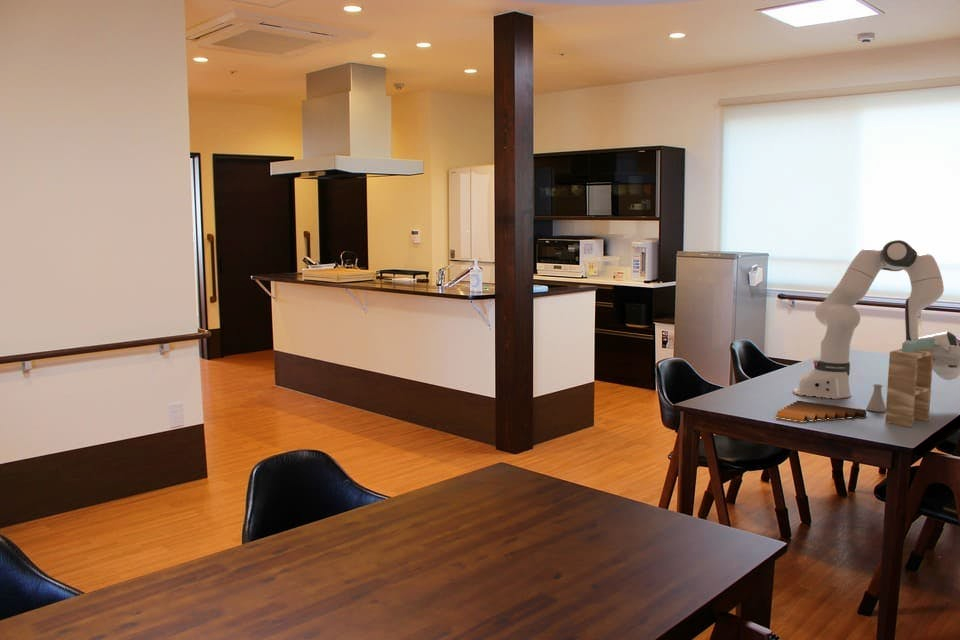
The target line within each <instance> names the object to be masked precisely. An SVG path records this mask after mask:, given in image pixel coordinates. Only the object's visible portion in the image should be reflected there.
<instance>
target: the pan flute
mask: <svg viewBox="0 0 960 640" xmlns="http://www.w3.org/2000/svg"><path fill="white" fill-rule="evenodd" d="M867 413H868V412H867V410H866V409H861V408H856V407H846V406H839V405H832V404H824V403H819V402H811V401H803V400H796V401H793V403H790V405H787V406H784V408H781V409H780V410H777V412H776V414H775V416H776V417H779V418H785V419H791V420H797V421H803V422H804V421H806V420H813V421H815V420H817V419H821V420H825V419H827V418H829V419H836V418H844V419H845V418H846V417H852V418H855V417H856V416H859V417H858V418H860V417H865V418H866V417H867ZM776 417H775V418H776ZM852 418H851V419H852ZM856 418H857V417H856ZM856 418H855V419H856ZM846 419H847V418H846ZM846 419H845V420H846ZM827 420H828V419H827ZM836 420H837V419H836ZM817 421H818V420H817Z"/></svg>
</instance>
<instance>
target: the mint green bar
mask: <svg viewBox="0 0 960 640" xmlns="http://www.w3.org/2000/svg"><path fill="white" fill-rule="evenodd" d="M934 341H935V339H933V338H922V339H918V340H913V341H909V342H905V341H904V342H905V343H904V342H902V347H901V349H902V352H907V353H913V352H917V351H921V350H925V349H929V348H933V347H934Z"/></svg>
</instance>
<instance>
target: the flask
mask: <svg viewBox="0 0 960 640" xmlns="http://www.w3.org/2000/svg"><path fill="white" fill-rule="evenodd" d="M882 387H883V384H878V383H874V384H873V392H872V395H871V398H870V400H869V402H868V403H867V406H866V408H865V410H866V411H870V412H876V413H884V412H885V413H886V405H885V404H886V403H885V402H884V398H883V395H882V393H883V392H882Z"/></svg>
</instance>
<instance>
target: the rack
mask: <svg viewBox="0 0 960 640" xmlns="http://www.w3.org/2000/svg"><path fill="white" fill-rule="evenodd" d="M933 353H934V350H926V349H925V350H921V351H917V352H913V353H907V352H902V348H900V349H895V350H891V351H889V358H888V360H889V363H888V376H887V387H886V388H887V389H886V403H885V404H886V405H885V407H886V411H885V419H884V420H885V421H884V422H885V423H886V422H889V423H888V424H891V423H894V424H893V425H897V424H898V425H899V426H902V425H903V426H902V427H907V428H908V427H909V428H913V427H914V422H915V421H914V420H918V421H925V422H929V419H930V406H931V405H930V404H931V392H932V382H933V381H932V380H933V369H932V367H933ZM898 425H897V426H898Z"/></svg>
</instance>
